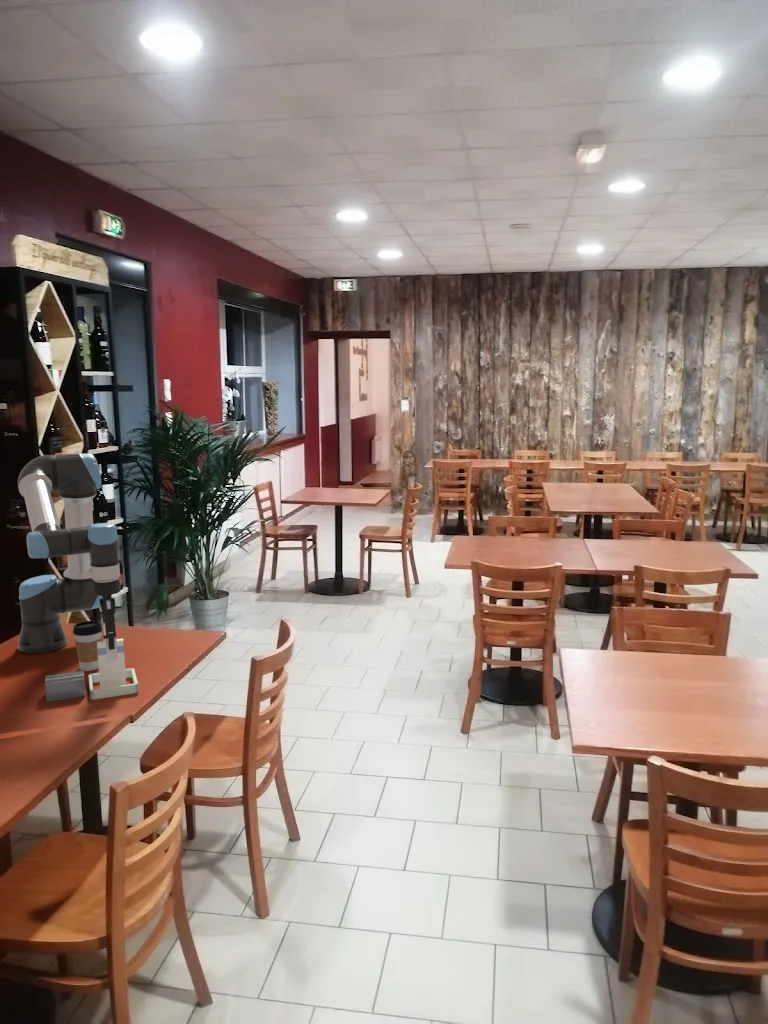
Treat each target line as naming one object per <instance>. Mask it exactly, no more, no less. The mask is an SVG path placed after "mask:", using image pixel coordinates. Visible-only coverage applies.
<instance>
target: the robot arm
mask: <svg viewBox="0 0 768 1024" xmlns="http://www.w3.org/2000/svg"><path fill="white" fill-rule="evenodd" d="M17 488H18V491H19V493H20V495H21V496H22V497H23V498H24V502H25V506H26V511H27V516H28V521H29V525H30V529H31V531H30V532H28V533H27V534H26V546H27V547H26V548H27V555H28V557H29V558H30V559H48V558H57V557H65V556H67V557H66V558H67V568H66V569H65V570H64V571H63V577H62V578H58V577H57V575H56V574H43V575H38V576H34V577H31V578H28V579H26V580H23V582H21V583H20V585H19V586H18V587H19V588H18V592H19V596H18V599H19V604H20V605H19V607H20V617H21V629H20V634H19V637H18V641H17V649H18V651H19V652H21V653H24V654H43V653H49V652H55V651H57V650H60V649H62V648H64V647H66V646H67V645H68V637H67V634H66V631H65V629H64V627H63V625H62V623H61V620H60V619H61V617H60V616H61V614H68V613H73V612H74V613H75V612H80V611H81V612H82V611H91V610H93V609H99V608H100V610H101V615H102V617H101V618H102V622H103V623H102V625H103V626H102V630H103V637H102V640H103V641H106V651H107V661H110V660H118V657H117V642H116V639H117V631H116V620H115V619H116V618H115V615H116V600H115V599H116V598H115V597H113V595H117V594H119V593H120V592H121V591H122V588H121V579H120V577H121V572H120V571H121V569H120V560H119V559H120V558H119V548H118V546H119V544H118V537H119V535H118V532H117V531H118V530H117V526H116V524H114V523H110V522H102V523H100V522H99V523H94V516H93V515H94V514H93V499H94V498H95V497H96V496H97V494H98V493H97V490H99V489H100V488H102V476H101V472H100V468H99V465H98V460H97V458H96V457H95V455H93V454H91V453H80V452H76V453H64V454H63V453H62V454H61V453H60V454H43V455H40V456H37V457H36V458H33V459H31V460H30V461H28V463H26V465H25V466H24V467H23V468H22V469H21V471H20V472H19V475H18V479H17ZM51 492H58V496H59V498H60V499H62V501H63V504H64V505H63V509H64V520H65V521H64V522H65V523H64V525H65V528H61V525H60V522H59V518H58V514H57V510H56V507H55V503H54V499H53V497H52V493H51Z"/></svg>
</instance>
